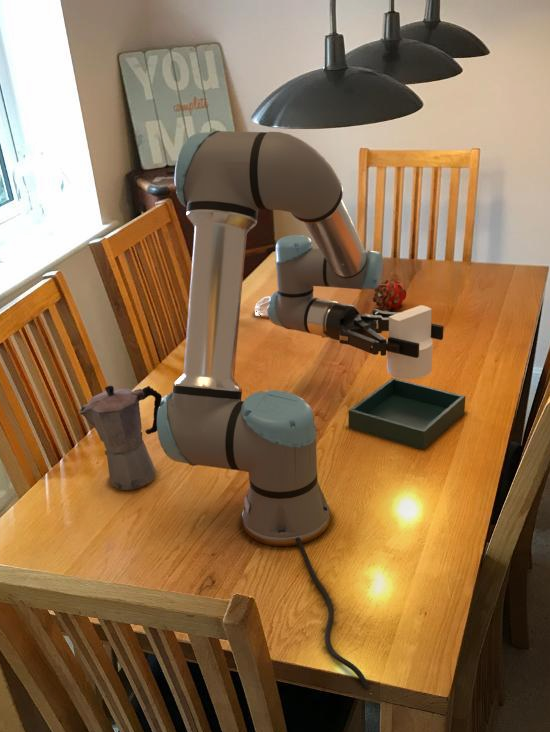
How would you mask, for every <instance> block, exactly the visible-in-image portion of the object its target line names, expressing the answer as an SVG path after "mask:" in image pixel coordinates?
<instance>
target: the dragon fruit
mask: <svg viewBox="0 0 550 732" xmlns="http://www.w3.org/2000/svg"><path fill="white" fill-rule="evenodd" d="M373 290H374V294H373V297H372V302H373V303H375V305H376V306H377V307H381V308H382V310H383V311H387V312H391V310H392V309H396V310H397V309H401V308H402V307H403V301H404V300H405V299H406V298H407V290H406V289H405V286H404V284H403V283H402V281H400V280H398V279H396V278H391V279H389V280H388V279H387V280H384V281H381V283H380V285H379V287H377V288H376V289H373Z"/></svg>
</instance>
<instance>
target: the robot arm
mask: <svg viewBox="0 0 550 732" xmlns="http://www.w3.org/2000/svg"><path fill="white" fill-rule="evenodd" d="M337 173H338V172H337V171H336V170H335V167H333V166H332V164H331V163H330V162H329V161H328V160H327V158H326V157H325V156H324V155H322V154H321V153H320V152H319V151H318V150H317V149H316V148H314V147H313V146H311V145H310V144H309V143H307V142H306V141H304V140H302V139H301V138H298V137H297V136H294V135H292V134H289V133H285V132H282V131H232V130H231V131H228V130H227V131H226V130H225V131H224V130H213V131H206V132H196V133H194V134H192V135H191V136H189V137H188V138H187V139H186V140H185V141H184V143H183V145H182V146H181V149H179V152H178V156H177V159H176V164H175V169H174V186H175V187H176V189H175V194H176V197H177V199H178V201H179V203H180V204H181V206H183V207H184V208H186V217H187V219H188V220H189V221H190V223H191V224H192V225H193V227H194V232H193V243H192V244H193V246H192V257H191V259H192V260H191V270H190V272H191V273H190V284H189V295H188V296H189V297H188V307H187V309H188V311H187V322H186V336H185V347H184V349H185V350H184V361H183V373H182V374H181V376H179V378H177V380H175V381H174V382H173V385H172V386H173V387H172V392H170V393H167V394H165V395H164V396H162V400H161V402H160V405H161V406H160V407H159V408H158V413H157V431H156V432H157V436H158V440H159V444H160V447H161V448H162V449H163V452H164V454H165V455H166V456H167V457H168V458H169V459H170V460H172V461H174V462H176V463H182V464H187V465H189V466H192V467H195V466H202V467H209V468H217V469H225V470H233V471H240V472H247V473H248V479H249V480H248V481H249V489H248V493H247V495H246V494H245V495H244V499H243V505H244V507H243V510H242V514H241V515H242V525H243V529H244V531H245V533H246V534H247V535H248V536H249V537H250V538H251V539H253V540H255V541H256V542H258V543H261V544H264V545H268V546H272V547H273V546H274V547H294V546H297V547H298V549H299V551H300V554H301V555H302V559H303V561H304V563H305V566H306V568H307V571H308V573H309V575H310V577H311V579H312V581H313V582H314V584H315V585H316V587H317V588H318V590H319V592H320V593H321V595H322V596H323V599H324V600H325V603H326V605H327V610H328V616H327V622H326V626H325V630H324V643H325V647H326V649H327V651H328V653H329V654H330V656H331V657H333V658H334V659H335V660H336V661H337V662H339V663H341V664H342V665H343V666H345V667H347V668H348V669H350V670H351V671H352V672H354V674H355V675H356V677H357V678H358V680H359V681H360V682H361V685H362V687H363V690H365V691H370V685H369V682H368V680H367V679H366V677H365V675H364V674H363V672H362V671H361V670H360V668H358V667H357V666H356V665H355V664H353V663H352V662H351V661H350V660H348V659H346V658H344V657H343V656H341V655H340V654H338V653H337V651H336V650H335V649H334V648H333V645H332V642H331V631H332V627H333V622H334V614H335V613H334V605H333V602H332V599H331V597H330V595H329V593H328V592H327V590H326V589H325V587H324V586H323V584H322V583H321V582H320V579H319V578H318V575H316V572H315V571H314V568H313V566H312V563H311V561H310V559H309V556H308V554H307V551H306V549H305V547H304V544H305V543H309V542H311V541H313V540H315V539H317V538H318V537H320V536H321V535H323V534H324V533H325V531H326V530H327V529H328V527H329V525H330V521H331V520H330V517H331V515H330V507H329V504H328V502H327V499H326V497H325V495H324V492H323V490H322V488H321V486H320V483H319V481H318V461H317V460H318V459H317V427H316V425H315V424H316V423H315V416H314V411H313V409H312V407H311V405H310V404H308V402H307V401H306V400H305V399H304V398H302V397H301V396H299V395H297V394H294V393H292V392H288V391H284V390H275V389H269V390H266V391H261V390H260V391H256V392H253V393H251V394H250V395H248V396H247V397H245V399H244V400H242V396H243V395H242V394H243V389H242V388H241V386H240V385H239V384H238V383H237V381H236V379H235V372H236V362H237V351H238V338H239V328H240V316H241V305H242V294H243V293H242V292H243V280H244V271H245V268H244V267H245V257H246V247H247V234H248V233H249V232H250V231H251V230H252V229H253V228H254V227H256V225H257V224H258V215H259V211H281V212H288V213H290V214H291V215H292V216H293V217H294V218H295V219H296V220H297V221H299V222H302V223H303V224H304V225H305V228H306V229H307V230H308V232H309V234H310V235H311V237H312V239H313V240H314V242H315V244H316V245H317V247H313V242H312V240H311V238H310V237H309V236H307V235H302V234H291V235H287V236H286V235H285V236H282V237H281V238H279V239H278V240H277V242H276V243H275V263H274V264H275V269H276V271H275V272H276V282H277V290H276V291H275V292H273V293H272V294H271V296H269V297H270V299H269V306H268V308H267V313H268V316H267V317H268V319H269V321H270V322H271V323H272V324H273V325H275V326H277V327H281V328H284V329H286V330H293V331H297V332H302V333H308V334H311V335H314V336H319V337H321V338H323V339H324V338H328V339H329V338H330V339H331V340H334V341H339V344H342V345H349V346H351V347H354V348H356V349H359V350H361V351H363V352H366V353H369V354H371V355H373V356H378V355H379V353H380V356H382V357H384V356H387V351H389V352H393V353H397V354H401V355H406V356H410V357H414V358H418V357H419V343H415V342H410V341H406V340H401V339H397V338H392V337H389V336H388V338H387V337H386V338H385V336H382V335H381V334H382V332H389V316H392V315H395V314H398V313H399V312H394V311H386V310H380V309H376V308H374V309H372V314H369V313H360V312H359V311H358V308H357V307H356V306H354V305H353V304H350V303H349V304H348V303H344V302H338V301H334V300H329V299H325V298H318V297H315V296H314V287H322V288H323V287H324V288H335V289H336V288H340V289H351V290H353V289H354V290H361V291H362V290H374V289H376V288H377V287H379V285H381V284H382V279H383V273H384V258H383V255H382V253H381V252H380V251H377V250H371V249H367V250H366V249H365V247H364V245H363V243H362V240H361V238H360V236H359V234H358V232H357V230H356V228H355V226H354V223H353V221H352V218H351V216H350V215H349V213H348V210H347V208H346V206H345V203H344V201H343V195H344V190H343V184H342V181H341V179H340V177H339V175H338V174H337ZM431 339H434V340H439V341H442V340H443V339H444V325H441V324H437V323H432V322H431Z"/></svg>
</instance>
